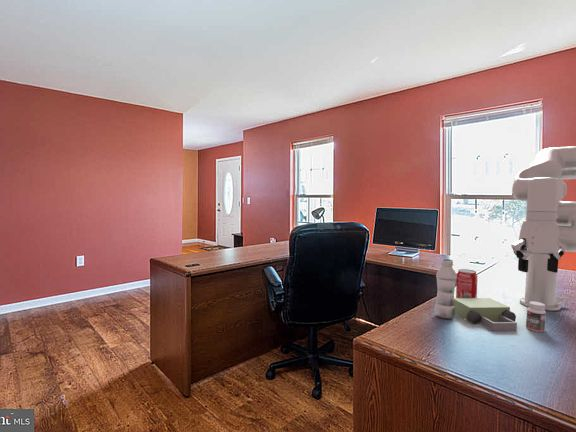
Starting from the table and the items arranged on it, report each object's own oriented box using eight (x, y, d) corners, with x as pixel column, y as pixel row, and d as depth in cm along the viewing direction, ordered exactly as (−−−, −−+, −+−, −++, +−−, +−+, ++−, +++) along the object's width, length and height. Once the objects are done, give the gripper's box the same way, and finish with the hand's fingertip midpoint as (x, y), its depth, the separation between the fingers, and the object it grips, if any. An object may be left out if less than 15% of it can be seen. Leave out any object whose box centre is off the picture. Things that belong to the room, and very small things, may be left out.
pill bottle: (522, 327, 105) (524, 301, 104) (531, 325, 107) (533, 300, 106) (538, 333, 100) (540, 306, 100) (548, 330, 102) (549, 304, 102)
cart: (488, 309, 121) (489, 296, 120) (528, 330, 102) (529, 314, 102) (446, 310, 120) (447, 296, 119) (480, 331, 101) (481, 315, 101)
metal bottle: (453, 315, 115) (456, 259, 113) (456, 322, 108) (459, 262, 107) (433, 312, 117) (435, 257, 115) (435, 319, 110) (437, 261, 109)
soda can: (479, 307, 124) (480, 273, 123) (458, 305, 125) (460, 272, 124) (472, 301, 131) (474, 269, 130) (453, 300, 132) (454, 268, 131)
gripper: (556, 217, 106) (553, 269, 107) (505, 216, 105) (502, 268, 106) (578, 218, 98) (574, 274, 99) (523, 217, 97) (520, 274, 98)
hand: (537, 271), depth 103 cm, fingers open, 9 cm apart
